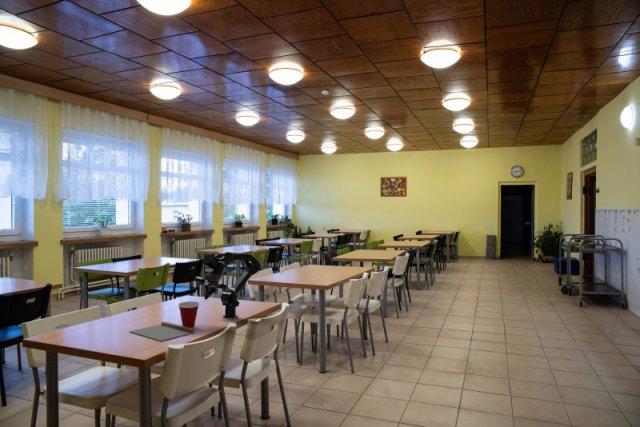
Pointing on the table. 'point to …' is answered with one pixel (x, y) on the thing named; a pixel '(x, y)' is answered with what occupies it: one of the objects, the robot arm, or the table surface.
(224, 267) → the robot arm
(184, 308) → the plastic cup
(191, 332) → the stop strip
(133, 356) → the table surface
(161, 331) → the mat
